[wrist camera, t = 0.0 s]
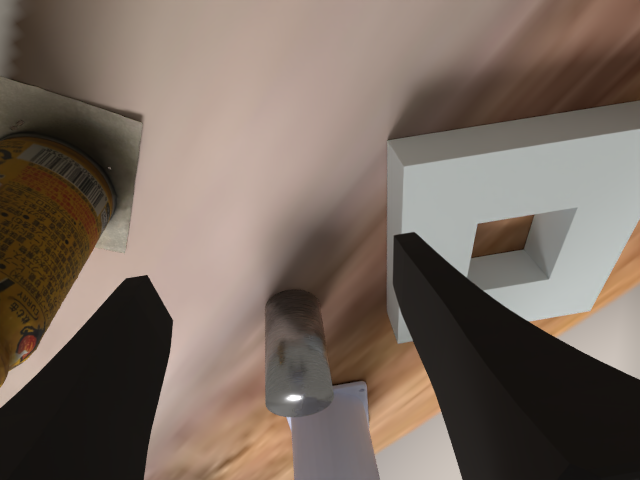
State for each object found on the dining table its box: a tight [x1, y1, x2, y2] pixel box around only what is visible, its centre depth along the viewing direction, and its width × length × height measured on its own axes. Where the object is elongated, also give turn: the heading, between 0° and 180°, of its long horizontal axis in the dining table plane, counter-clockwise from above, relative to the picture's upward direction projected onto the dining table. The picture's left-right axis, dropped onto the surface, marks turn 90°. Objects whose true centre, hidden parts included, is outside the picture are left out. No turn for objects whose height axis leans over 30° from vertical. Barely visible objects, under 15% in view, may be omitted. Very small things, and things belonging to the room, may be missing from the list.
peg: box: [265, 290, 334, 417], centre depth 24 cm, size 4×4×7 cm
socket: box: [387, 100, 640, 344], centre depth 23 cm, size 14×14×3 cm
